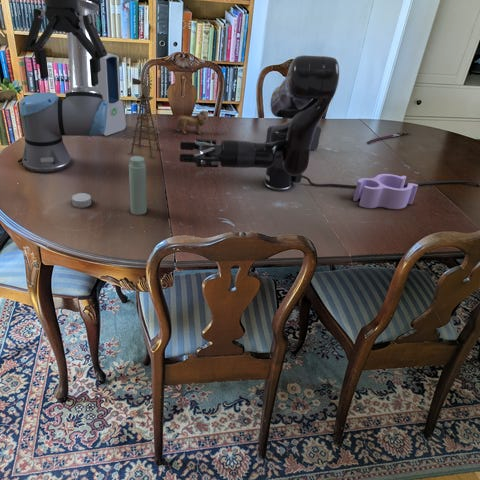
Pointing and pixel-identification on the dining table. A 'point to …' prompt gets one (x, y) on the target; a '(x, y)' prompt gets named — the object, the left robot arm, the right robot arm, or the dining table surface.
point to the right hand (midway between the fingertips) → (180, 151)
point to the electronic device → (111, 93)
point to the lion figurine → (193, 121)
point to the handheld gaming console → (314, 141)
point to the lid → (81, 200)
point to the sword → (386, 137)
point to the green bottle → (137, 185)
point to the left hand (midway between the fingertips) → (69, 81)
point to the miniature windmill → (144, 98)
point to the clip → (384, 192)
